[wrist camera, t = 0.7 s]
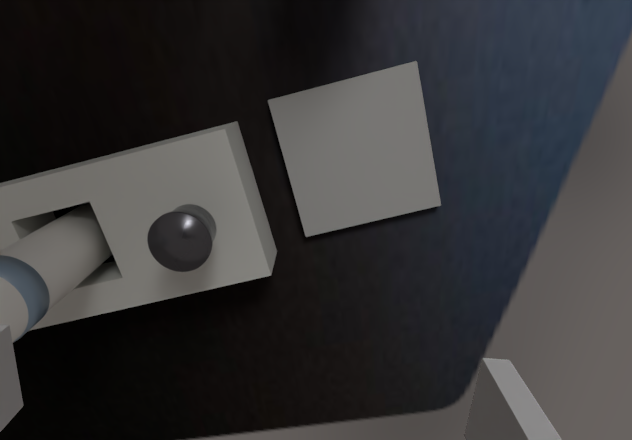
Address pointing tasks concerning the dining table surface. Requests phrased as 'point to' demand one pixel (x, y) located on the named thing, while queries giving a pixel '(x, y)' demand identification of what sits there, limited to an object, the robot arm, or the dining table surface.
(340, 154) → the mat
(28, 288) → the cartridge
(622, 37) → the dining table surface
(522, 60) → the dining table surface
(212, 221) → the plunger
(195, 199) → the housing
